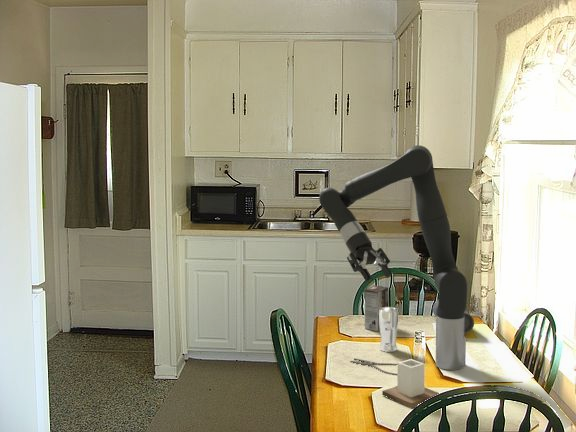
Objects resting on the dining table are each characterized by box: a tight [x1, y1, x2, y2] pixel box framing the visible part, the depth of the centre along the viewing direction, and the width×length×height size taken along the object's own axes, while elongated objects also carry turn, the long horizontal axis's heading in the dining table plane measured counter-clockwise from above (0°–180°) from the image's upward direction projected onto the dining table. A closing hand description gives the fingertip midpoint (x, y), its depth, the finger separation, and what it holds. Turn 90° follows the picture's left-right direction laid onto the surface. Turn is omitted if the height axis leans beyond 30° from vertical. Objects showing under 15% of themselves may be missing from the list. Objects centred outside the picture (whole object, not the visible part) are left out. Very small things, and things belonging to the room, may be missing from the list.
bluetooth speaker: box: [432, 299, 475, 335], centre depth 275 cm, size 23×9×10 cm, turn 9°
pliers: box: [350, 358, 398, 376], centre depth 233 cm, size 10×1×20 cm
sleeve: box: [397, 358, 426, 397], centre depth 207 cm, size 6×6×9 cm
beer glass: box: [379, 306, 399, 353], centre depth 251 cm, size 7×7×15 cm
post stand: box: [381, 365, 440, 409], centre depth 207 cm, size 12×12×10 cm
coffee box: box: [364, 284, 390, 332], centre depth 278 cm, size 9×6×16 cm
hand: (379, 278), depth 220 cm, fingers open, 8 cm apart
